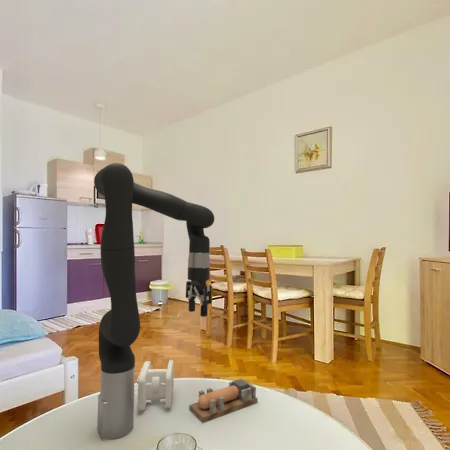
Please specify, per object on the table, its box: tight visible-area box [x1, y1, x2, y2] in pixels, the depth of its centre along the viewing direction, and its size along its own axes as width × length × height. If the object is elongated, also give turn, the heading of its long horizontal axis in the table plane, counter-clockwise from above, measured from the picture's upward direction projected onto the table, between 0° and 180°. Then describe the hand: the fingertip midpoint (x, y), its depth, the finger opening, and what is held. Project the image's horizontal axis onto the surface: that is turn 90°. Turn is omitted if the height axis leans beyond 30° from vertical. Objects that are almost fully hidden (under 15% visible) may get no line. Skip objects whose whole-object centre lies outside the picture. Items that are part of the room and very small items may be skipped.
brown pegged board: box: [188, 378, 258, 424], centre depth 101 cm, size 21×9×5 cm, turn 124°
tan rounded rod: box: [197, 378, 248, 409], centre depth 100 cm, size 18×4×4 cm, turn 124°
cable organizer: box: [136, 359, 175, 412], centre depth 103 cm, size 15×11×12 cm
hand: (197, 313), depth 105 cm, fingers open, 8 cm apart
